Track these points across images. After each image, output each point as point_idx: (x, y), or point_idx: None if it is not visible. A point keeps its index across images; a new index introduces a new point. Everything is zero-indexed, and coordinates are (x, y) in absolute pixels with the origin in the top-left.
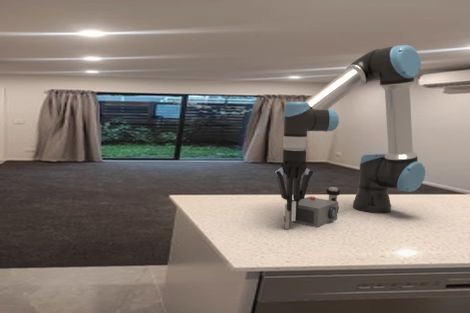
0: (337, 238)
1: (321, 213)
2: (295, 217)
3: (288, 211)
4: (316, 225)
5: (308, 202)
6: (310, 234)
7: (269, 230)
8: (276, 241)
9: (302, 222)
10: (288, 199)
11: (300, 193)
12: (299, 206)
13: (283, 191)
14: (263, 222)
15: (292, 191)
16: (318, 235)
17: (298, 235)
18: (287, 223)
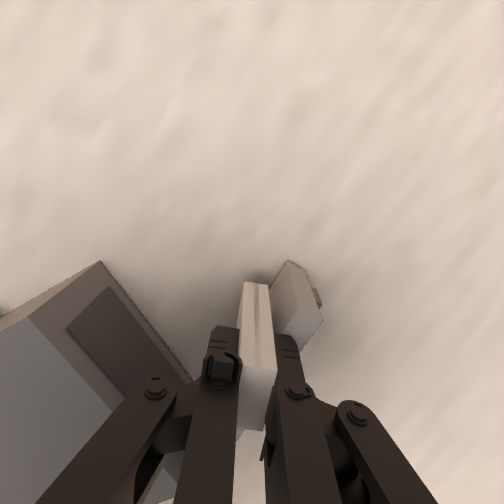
0: (78, 23)
1: (19, 315)
2: (173, 380)
3: (296, 326)
4: (99, 269)
5: (31, 473)
6: (208, 152)
7: (390, 279)
8: (489, 79)
9: (151, 336)
10: (311, 404)
11: (143, 468)
12: None
13: (417, 495)
14: (335, 398)
15: (288, 477)
16: (170, 119)
17: (290, 153)
18: (298, 276)
